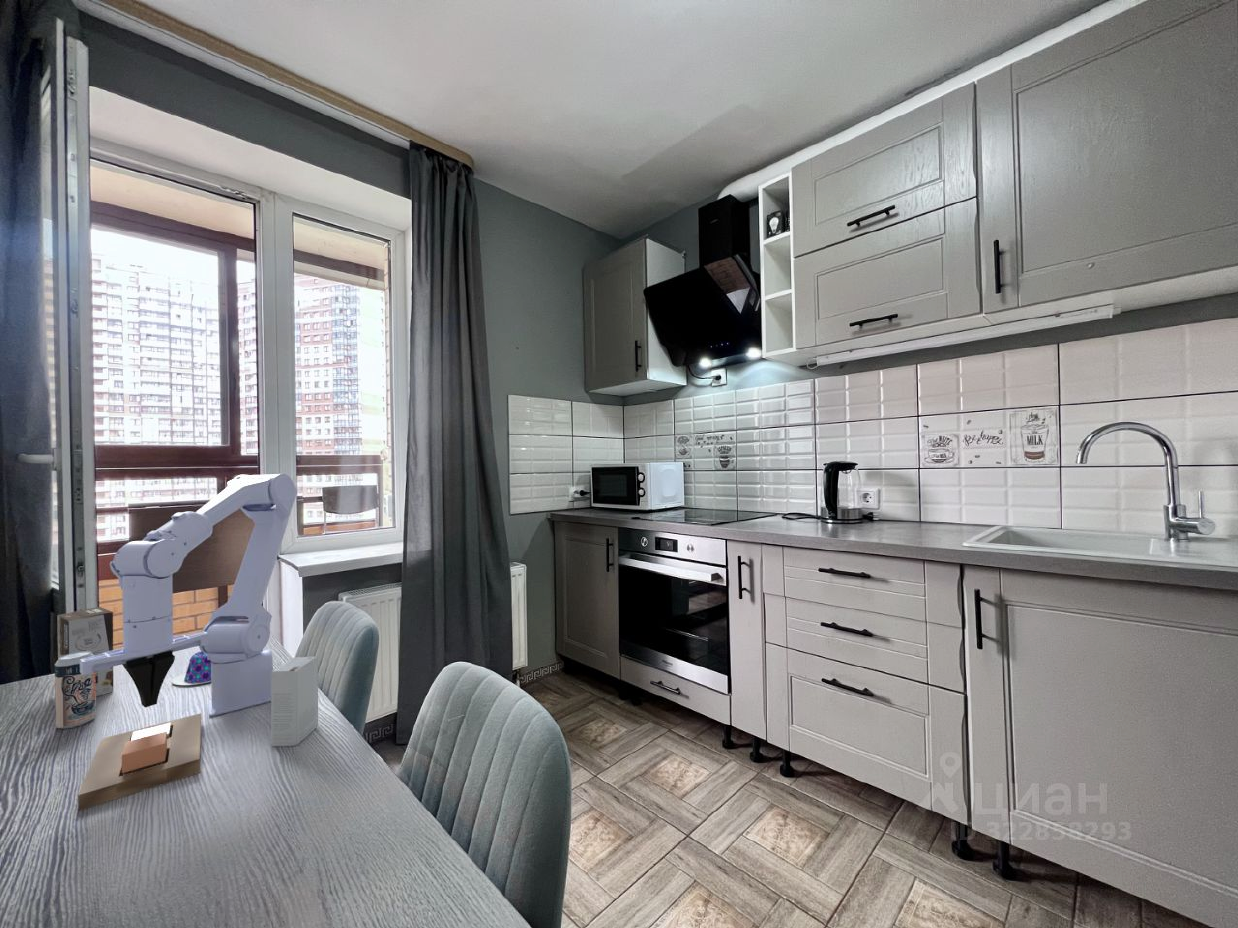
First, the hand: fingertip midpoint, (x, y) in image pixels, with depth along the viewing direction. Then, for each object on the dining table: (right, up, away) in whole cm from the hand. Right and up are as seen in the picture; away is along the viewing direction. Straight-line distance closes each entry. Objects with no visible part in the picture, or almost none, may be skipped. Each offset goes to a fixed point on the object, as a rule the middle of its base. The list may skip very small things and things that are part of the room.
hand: (149, 704), depth 77 cm
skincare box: (+21, -7, +3) cm, 22 cm away
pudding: (-15, -9, +30) cm, 34 cm away
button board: (+2, -7, -3) cm, 8 cm away
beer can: (-22, -8, +10) cm, 25 cm away
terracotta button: (+5, -5, -6) cm, 10 cm away
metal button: (0, -7, +1) cm, 7 cm away
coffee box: (-34, -9, +22) cm, 41 cm away
